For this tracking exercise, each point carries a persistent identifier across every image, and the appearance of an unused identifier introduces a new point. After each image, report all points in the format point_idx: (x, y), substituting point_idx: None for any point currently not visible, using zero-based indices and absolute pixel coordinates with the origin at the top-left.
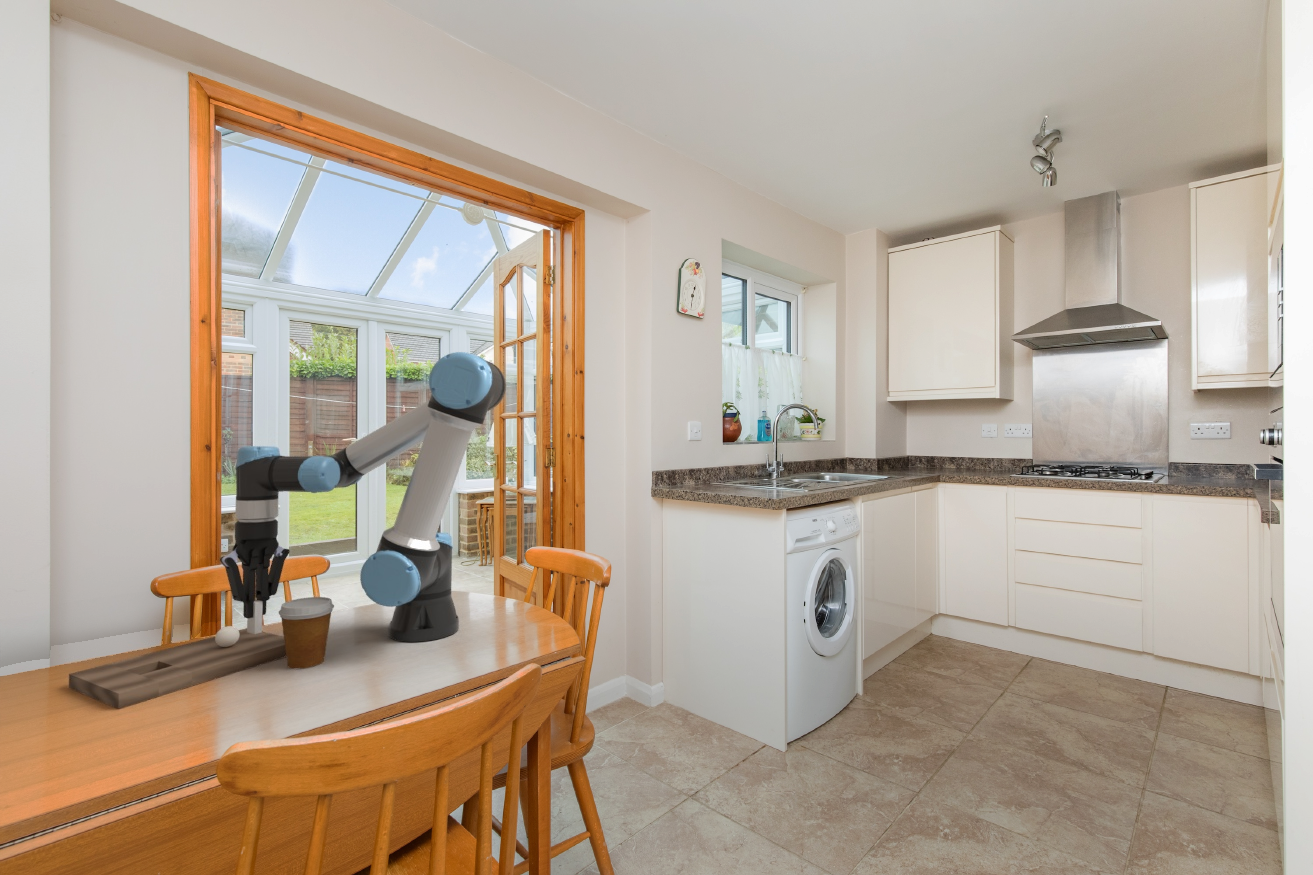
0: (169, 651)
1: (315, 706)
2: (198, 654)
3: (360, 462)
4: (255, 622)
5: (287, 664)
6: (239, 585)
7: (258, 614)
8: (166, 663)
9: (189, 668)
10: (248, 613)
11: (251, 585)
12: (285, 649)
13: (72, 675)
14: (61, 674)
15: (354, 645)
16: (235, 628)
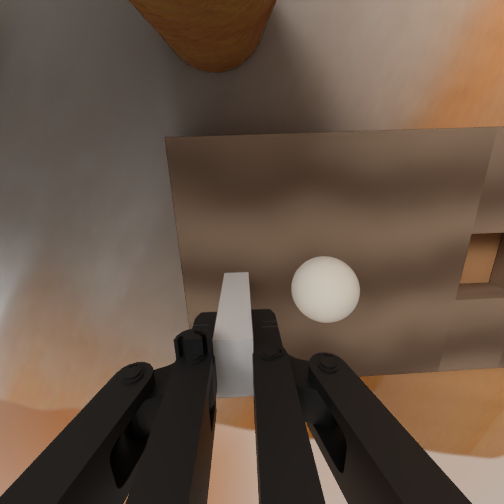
0: (397, 351)
1: None
2: (388, 270)
3: None
4: (247, 288)
5: (259, 41)
6: (403, 463)
7: (235, 304)
8: (462, 267)
9: (476, 168)
10: (271, 320)
11: (292, 445)
12: (271, 11)
13: None
14: (480, 420)
15: (17, 31)
16: (315, 287)
